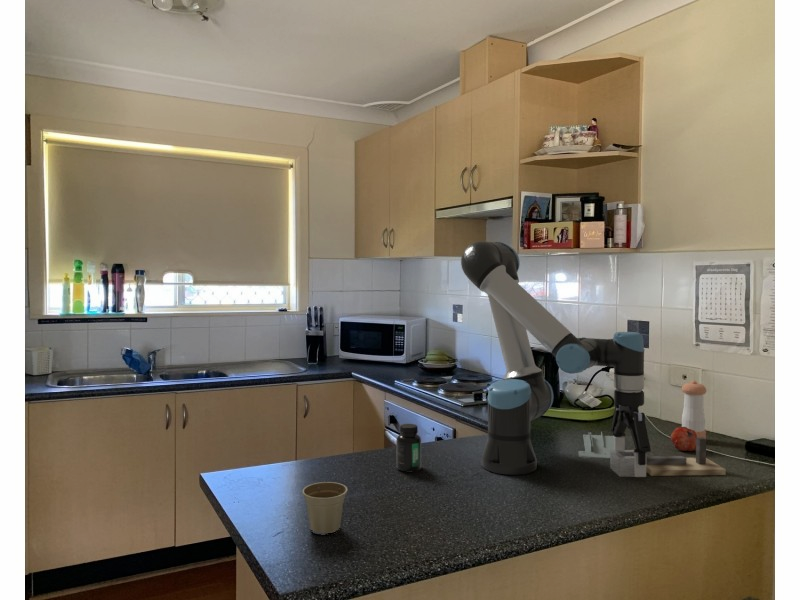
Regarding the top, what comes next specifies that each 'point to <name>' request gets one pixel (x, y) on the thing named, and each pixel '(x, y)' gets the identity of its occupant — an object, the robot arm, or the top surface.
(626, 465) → the grey square socket block
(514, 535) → the top surface
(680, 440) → the pomegranate
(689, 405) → the pepper shaker
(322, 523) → the flower pot
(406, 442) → the supplement bottle
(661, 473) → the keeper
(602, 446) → the metal bracket
